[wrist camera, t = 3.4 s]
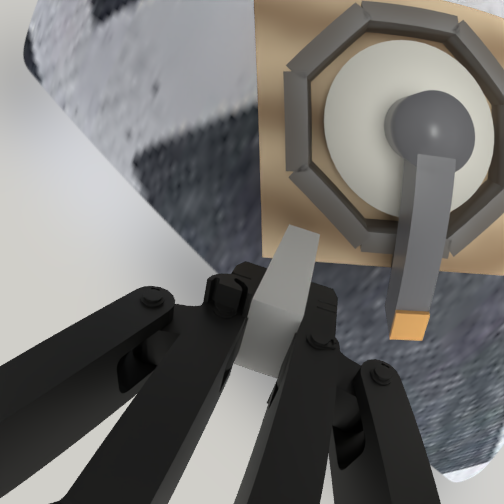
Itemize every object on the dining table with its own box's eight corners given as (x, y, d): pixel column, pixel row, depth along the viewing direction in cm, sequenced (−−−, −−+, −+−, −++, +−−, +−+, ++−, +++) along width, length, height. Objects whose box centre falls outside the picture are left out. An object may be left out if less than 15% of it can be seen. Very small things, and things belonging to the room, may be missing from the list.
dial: (322, 40, 15) (314, 7, 9) (481, 62, 12) (529, 47, 7) (320, 277, 21) (311, 332, 16) (458, 287, 18) (486, 341, 13)
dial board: (260, 0, 16) (241, -25, 12) (508, 30, 12) (537, 17, 8) (268, 245, 23) (252, 274, 19) (494, 263, 19) (517, 293, 15)
